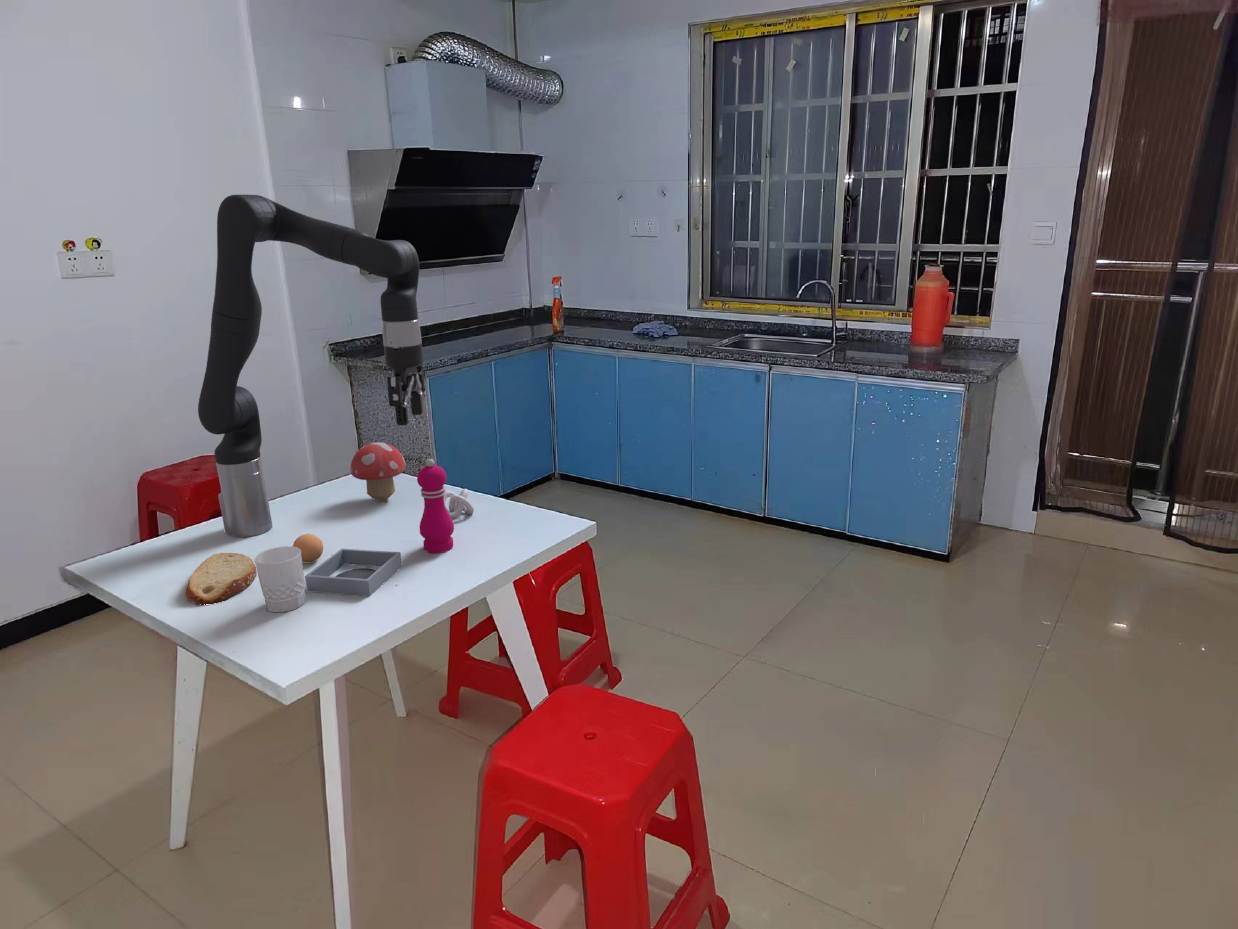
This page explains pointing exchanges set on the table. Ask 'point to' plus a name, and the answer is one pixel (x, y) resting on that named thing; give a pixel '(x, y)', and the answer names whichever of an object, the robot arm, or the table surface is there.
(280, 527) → the table surface
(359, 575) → the pad
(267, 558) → the white cup
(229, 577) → the slice of bread
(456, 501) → the knot
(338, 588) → the corral
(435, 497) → the pepper mill
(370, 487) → the decorative mushroom
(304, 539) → the ball
